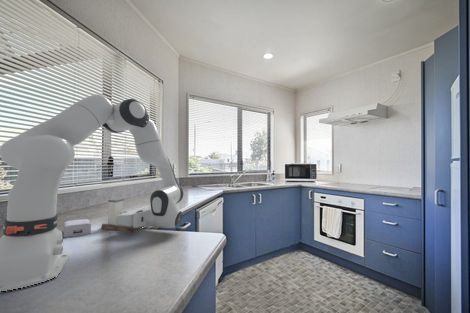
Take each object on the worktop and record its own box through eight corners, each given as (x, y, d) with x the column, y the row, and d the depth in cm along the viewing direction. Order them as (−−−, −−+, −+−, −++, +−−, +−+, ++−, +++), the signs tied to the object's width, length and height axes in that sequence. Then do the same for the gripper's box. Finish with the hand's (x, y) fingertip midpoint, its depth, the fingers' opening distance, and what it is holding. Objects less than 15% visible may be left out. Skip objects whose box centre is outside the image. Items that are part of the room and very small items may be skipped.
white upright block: (122, 223, 109) (123, 198, 109) (114, 226, 104) (115, 200, 104) (115, 222, 110) (116, 198, 110) (107, 225, 105) (108, 199, 105)
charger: (87, 225, 108) (90, 234, 96) (63, 228, 102) (63, 237, 90) (87, 215, 108) (91, 223, 96) (63, 218, 102) (64, 226, 91)
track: (144, 227, 108) (144, 223, 108) (133, 232, 100) (133, 227, 100) (113, 224, 111) (114, 220, 111) (101, 228, 104) (101, 224, 104)
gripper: (159, 205, 114) (135, 203, 117) (134, 214, 94) (105, 211, 97) (159, 217, 114) (135, 215, 116) (133, 229, 94) (105, 226, 96)
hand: (121, 213), depth 106 cm, fingers closed
